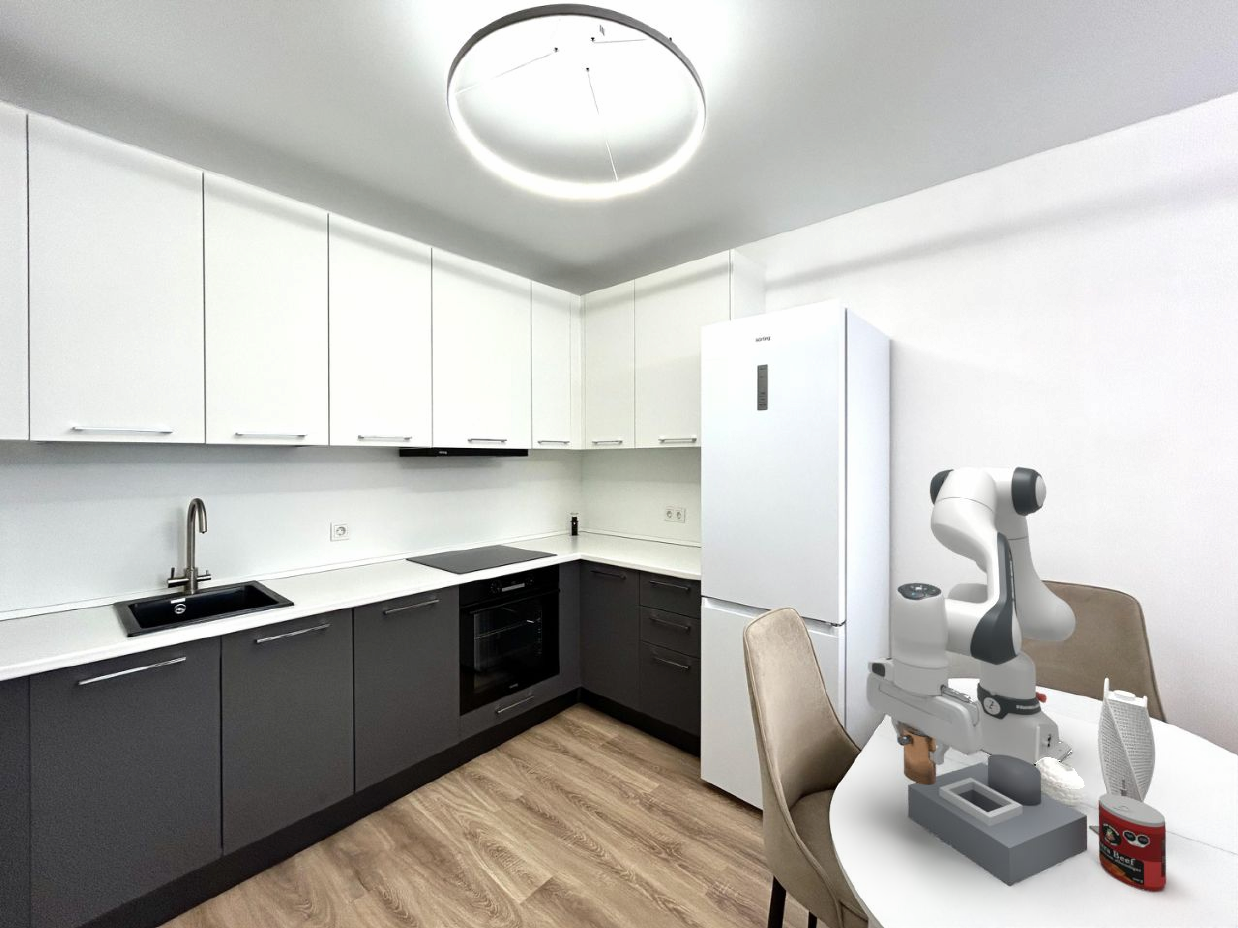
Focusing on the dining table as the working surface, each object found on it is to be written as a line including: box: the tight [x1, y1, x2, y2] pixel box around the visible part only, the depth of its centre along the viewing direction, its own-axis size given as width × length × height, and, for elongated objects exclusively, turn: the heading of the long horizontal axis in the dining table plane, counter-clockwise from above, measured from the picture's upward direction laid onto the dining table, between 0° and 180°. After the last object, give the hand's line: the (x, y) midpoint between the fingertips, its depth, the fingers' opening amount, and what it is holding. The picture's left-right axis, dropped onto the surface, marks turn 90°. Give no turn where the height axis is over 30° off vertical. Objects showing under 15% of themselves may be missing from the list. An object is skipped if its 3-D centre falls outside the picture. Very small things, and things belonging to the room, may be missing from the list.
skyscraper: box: [1088, 677, 1156, 836], centre depth 94 cm, size 8×8×28 cm
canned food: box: [1098, 793, 1167, 892], centre depth 85 cm, size 8×8×11 cm
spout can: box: [897, 723, 937, 785], centre depth 91 cm, size 7×5×9 cm
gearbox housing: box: [907, 754, 1088, 887], centre depth 95 cm, size 22×18×11 cm
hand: (919, 753), depth 92 cm, fingers closed on spout can, 5 cm apart
